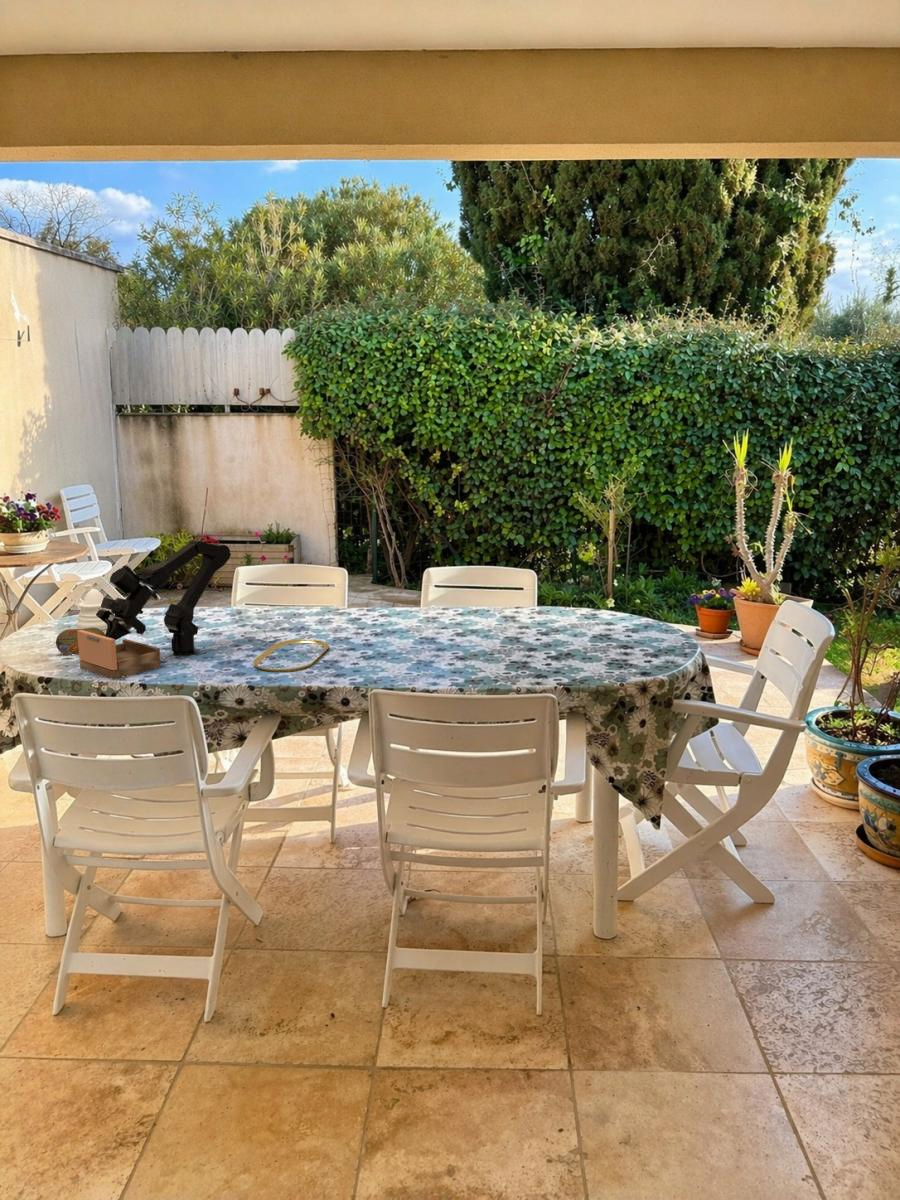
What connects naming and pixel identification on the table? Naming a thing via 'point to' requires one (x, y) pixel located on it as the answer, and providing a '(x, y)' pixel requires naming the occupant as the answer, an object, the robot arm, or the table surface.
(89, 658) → the tailgate
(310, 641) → the oval ring
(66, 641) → the tin
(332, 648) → the table surface
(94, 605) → the honey pot
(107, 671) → the brown shallow open box
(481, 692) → the table surface
